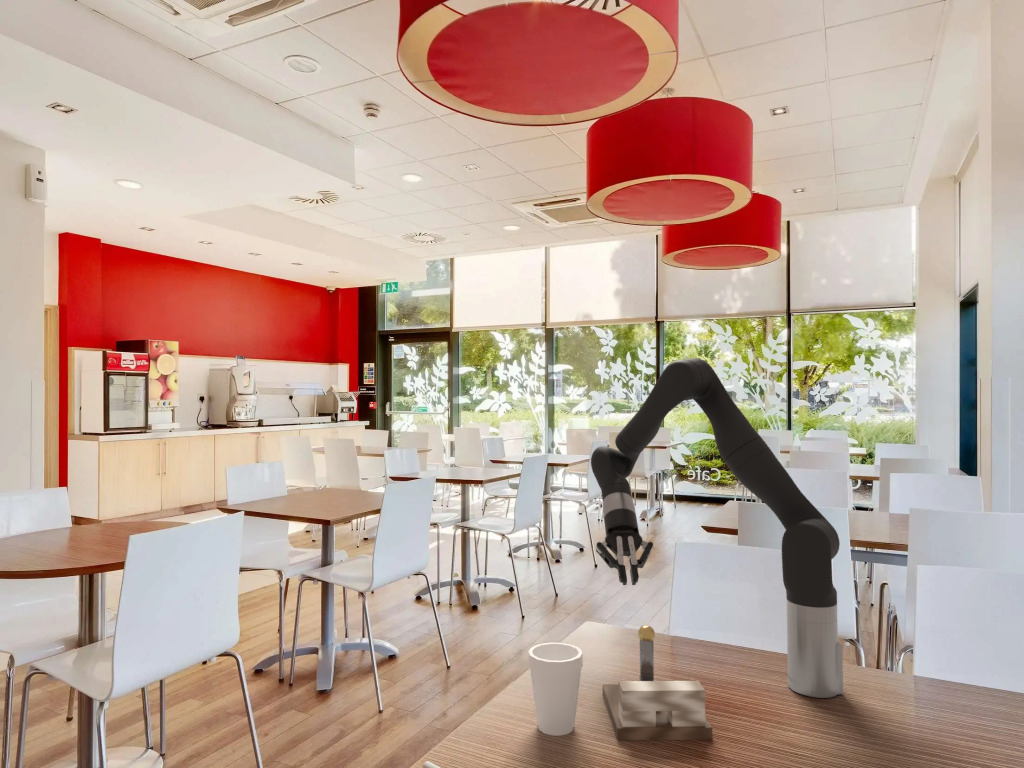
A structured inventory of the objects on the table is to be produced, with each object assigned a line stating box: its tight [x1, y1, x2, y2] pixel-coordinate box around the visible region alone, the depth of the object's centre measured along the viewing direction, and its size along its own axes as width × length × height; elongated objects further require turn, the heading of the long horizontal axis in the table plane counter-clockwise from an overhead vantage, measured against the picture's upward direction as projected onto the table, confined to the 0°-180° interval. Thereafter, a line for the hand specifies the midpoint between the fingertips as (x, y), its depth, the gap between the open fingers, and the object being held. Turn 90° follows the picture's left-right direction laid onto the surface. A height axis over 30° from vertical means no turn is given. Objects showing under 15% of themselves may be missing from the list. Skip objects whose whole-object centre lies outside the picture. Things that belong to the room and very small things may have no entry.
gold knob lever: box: [637, 624, 656, 681], centre depth 126 cm, size 3×9×12 cm, turn 0°
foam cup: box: [527, 642, 584, 737], centre depth 119 cm, size 10×9×13 cm
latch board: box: [601, 680, 713, 741], centre depth 123 cm, size 16×18×8 cm
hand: (629, 583), depth 147 cm, fingers closed
